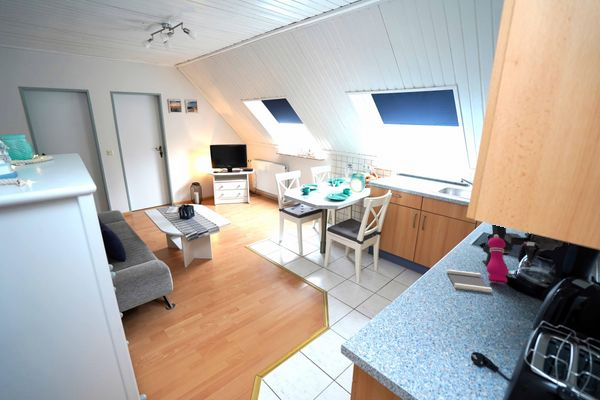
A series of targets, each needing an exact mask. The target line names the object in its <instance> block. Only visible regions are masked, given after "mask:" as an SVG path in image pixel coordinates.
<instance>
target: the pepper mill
mask: <svg viewBox="0 0 600 400" xmlns="http://www.w3.org/2000/svg"><path fill="white" fill-rule="evenodd" d="M487 244H488V245H489V247H490V252H491V259H490V262H489V264H488V266H486V271H487V272H486V273H488V277H487V278H488V281H490V282H492V283H496V284H497V283H499V284H505V283H508V277H507V275H508V274H509V268H508V266H507V264H506V261H505V260H504V255H503V253H504V249H503V248H504V247H505V242H504V240H503V239H501V238H499V236H498V235H494V238H491V239H490V240H489V239H488V242H487Z"/></svg>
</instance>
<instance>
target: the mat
mask: <svg viewBox="0 0 600 400" xmlns="http://www.w3.org/2000/svg"><path fill="white" fill-rule="evenodd" d="M446 274H447V276H448V279H449V280H450V283H451V284H452V286H453V287H454V289H458V290H465V291H466V290H467V291H474V292H479V293H486V294H489V293H490V294H491V293H492V291H493V289H492V287H490V286H487V285H488V284H486V282H485V281H484V279H483V278H482V274H481V273H480V272H472V271H462V270H455V269H454V270H453V269H447V270H446Z"/></svg>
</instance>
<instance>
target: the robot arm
mask: <svg viewBox="0 0 600 400" xmlns="http://www.w3.org/2000/svg"><path fill="white" fill-rule="evenodd" d="M491 226H492V227H491V229H492V234H491V235H490V237H489V238H488V241H489V240H490V239H491V238H494V235H498V236H499V238H501V239H503V240H504V242H505V247H504V248H503V249H504V253H503V256H509V254H510V253H511V252H512V251H513V250H514V249H513V247H514V246H523V247H524V251H525V254H526V257H527V260H528V262H533V261H534V260H535V259H536V258H537V256H538V255H540V254H541V252H543V251H546V250H547V251H548V250H549V251H554V250H555V248H557V247H561V246H562V245H563V242H560V241H555V240H552V239H548V238H544V237H540V236H536V235H533V234H529V233H528V232H525V233H524V236H521V235H520V234H518V233H513V232H512V233H511V232H507V227H506V228H504V227H500V226H496V225H492V224H491ZM566 244H567V243H566ZM482 251H483V252H484V253H485V254H486V259H485V260H482V263H483V264H484V265H485V266H486V267H487V266H488V264H489V262H490V259H491V252H490V247H489V245H488V243H487V244H486V245H484V246H482Z"/></svg>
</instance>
